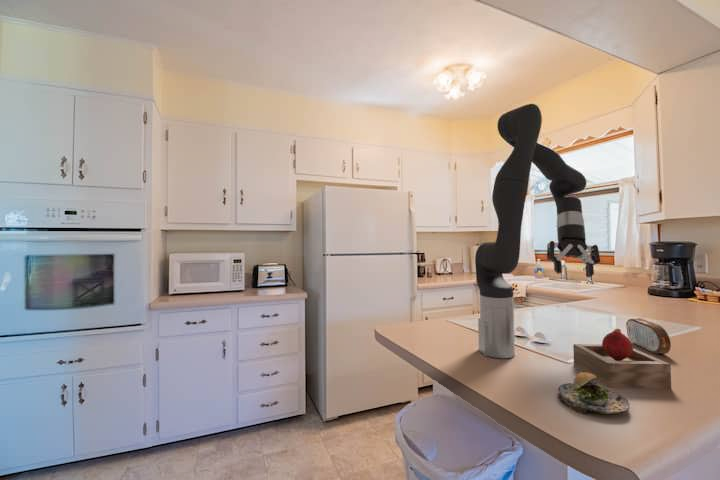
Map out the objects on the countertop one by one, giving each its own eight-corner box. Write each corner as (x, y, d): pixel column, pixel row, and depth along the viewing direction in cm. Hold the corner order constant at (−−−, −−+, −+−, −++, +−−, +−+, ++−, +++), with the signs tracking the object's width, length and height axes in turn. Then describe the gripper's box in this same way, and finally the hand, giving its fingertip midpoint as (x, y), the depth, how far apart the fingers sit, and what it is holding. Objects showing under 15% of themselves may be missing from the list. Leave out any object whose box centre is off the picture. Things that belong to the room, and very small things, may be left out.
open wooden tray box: (608, 389, 69) (608, 363, 69) (573, 366, 82) (573, 344, 82) (671, 391, 68) (670, 364, 68) (625, 367, 81) (625, 344, 81)
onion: (626, 367, 71) (625, 333, 71) (597, 359, 76) (597, 327, 76) (638, 362, 74) (637, 329, 74) (609, 355, 79) (609, 324, 79)
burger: (584, 422, 56) (583, 381, 57) (545, 391, 68) (544, 357, 68) (648, 420, 56) (647, 380, 57) (598, 390, 68) (598, 356, 68)
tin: (672, 358, 85) (671, 328, 85) (659, 357, 86) (658, 327, 86) (635, 341, 100) (634, 315, 100) (624, 340, 101) (623, 315, 101)
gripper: (551, 221, 99) (554, 269, 94) (601, 225, 96) (606, 274, 91) (542, 230, 106) (544, 275, 101) (588, 234, 103) (593, 280, 98)
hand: (574, 274), depth 96 cm, fingers open, 8 cm apart
